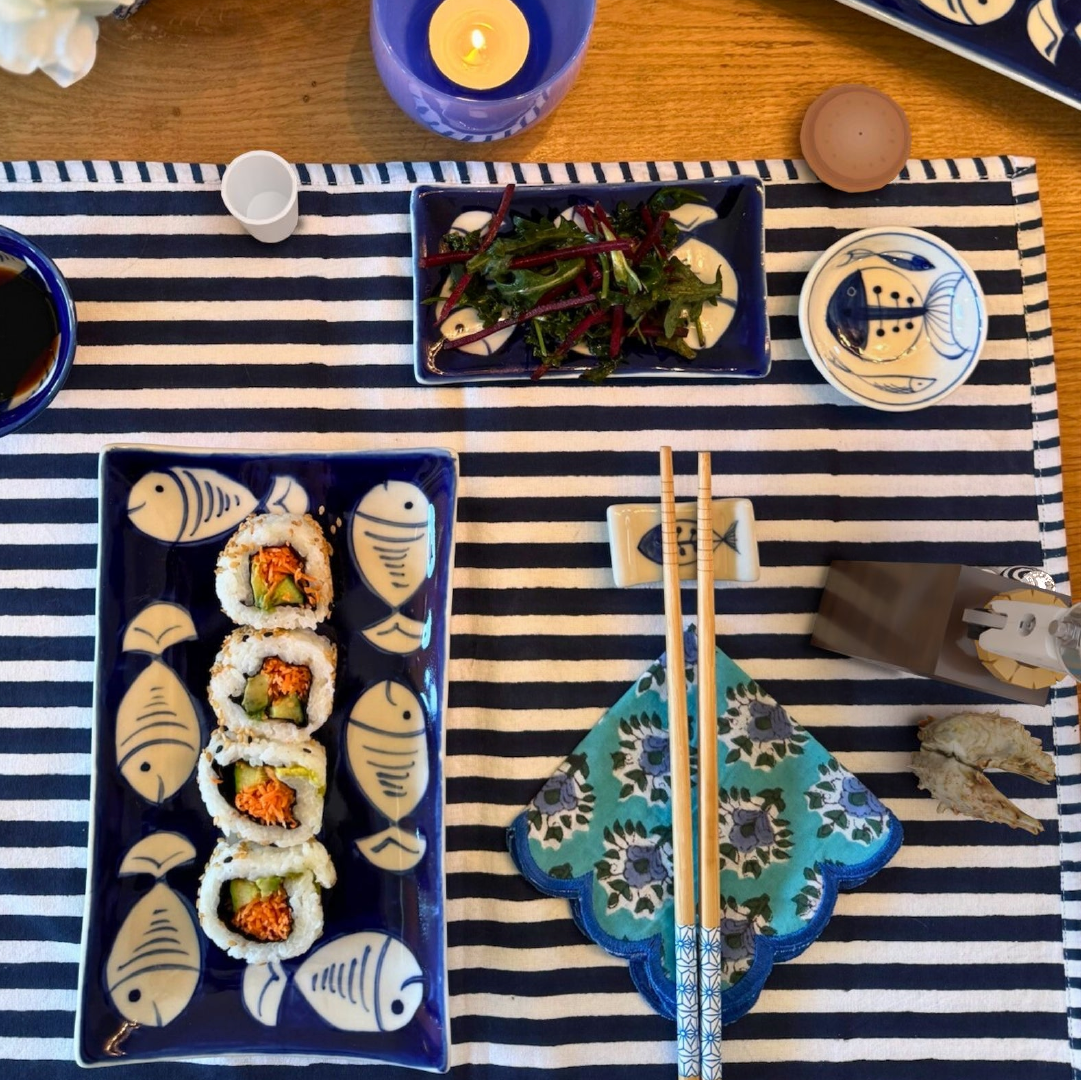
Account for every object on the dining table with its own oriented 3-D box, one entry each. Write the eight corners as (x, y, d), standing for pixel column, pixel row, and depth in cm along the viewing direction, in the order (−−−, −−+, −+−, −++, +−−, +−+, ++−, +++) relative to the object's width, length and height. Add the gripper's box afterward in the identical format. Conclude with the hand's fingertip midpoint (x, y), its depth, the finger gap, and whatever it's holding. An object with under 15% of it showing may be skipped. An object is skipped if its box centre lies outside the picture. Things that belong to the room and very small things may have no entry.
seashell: (1072, 865, 123) (1114, 749, 126) (933, 788, 124) (979, 676, 128) (985, 847, 140) (1025, 746, 144) (865, 780, 142) (907, 682, 145)
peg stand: (915, 584, 144) (1103, 599, 105) (893, 669, 143) (1075, 715, 104) (831, 560, 144) (988, 565, 105) (809, 644, 143) (959, 680, 104)
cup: (222, 215, 147) (204, 184, 134) (274, 169, 148) (261, 134, 135) (269, 266, 147) (256, 240, 134) (321, 220, 147) (313, 190, 134)
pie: (884, 213, 148) (901, 202, 143) (779, 183, 148) (791, 171, 143) (911, 112, 149) (928, 96, 144) (806, 82, 149) (820, 66, 144)
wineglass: (994, 613, 144) (1047, 619, 132) (957, 593, 144) (1006, 597, 132) (1013, 577, 144) (1068, 580, 132) (976, 556, 144) (1027, 557, 132)
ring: (1078, 605, 106) (1091, 606, 104) (1055, 697, 105) (1068, 700, 103) (987, 578, 106) (998, 578, 104) (964, 669, 106) (974, 672, 104)
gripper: (1005, 660, 87) (901, 640, 106) (1191, 715, 87) (1055, 686, 105) (1027, 574, 88) (920, 569, 106) (1212, 628, 88) (1072, 614, 106)
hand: (988, 627), depth 106 cm, fingers closed on ring, 2 cm apart
